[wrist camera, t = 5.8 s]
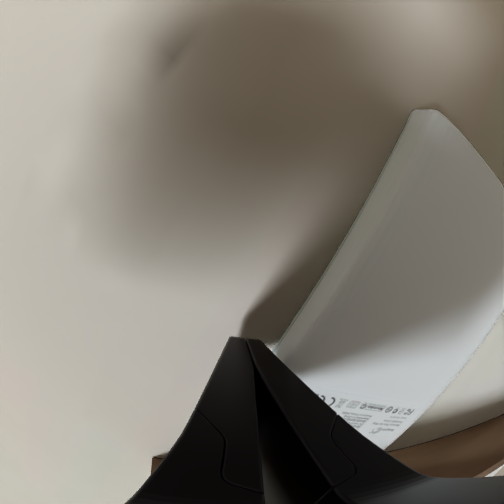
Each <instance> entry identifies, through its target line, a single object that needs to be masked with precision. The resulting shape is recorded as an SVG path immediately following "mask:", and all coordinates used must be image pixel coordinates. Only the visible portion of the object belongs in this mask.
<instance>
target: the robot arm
mask: <svg viewBox="0 0 504 504" xmlns="http://www.w3.org/2000/svg"><path fill="white" fill-rule="evenodd" d="M125 504H504V476H493V477H476V478H436V477H430V476H427V475H423V474H421V473H419V472H417V471H415V470H413V469H411V468H410V467H408V466H407V465H405V464H404V463H402V462H401V461H399V460H398V459H396V458H395V457H393V456H392V455H390V454H389V453H387V452H386V451H384V450H383V449H381V448H380V447H378V446H377V445H376V444H374V443H373V442H372V441H370V440H369V439H367V438H366V437H365V436H363V435H362V434H361V433H360V432H358V431H357V430H356V429H355V428H354V427H352V426H351V425H350V424H349V423H348V422H347V421H345V420H344V419H343V418H342V417H341V416H340V415H337V413H336V412H335V411H334V410H333V409H332V408H331V407H330V406H329V405H328V404H326V403H325V402H324V401H323V400H322V399H321V398H320V397H319V396H318V395H317V394H316V393H315V392H313V391H312V390H311V389H310V388H309V387H308V386H307V385H306V384H305V383H304V382H303V381H302V380H301V379H300V378H299V377H298V376H297V375H295V374H294V373H293V372H292V371H291V370H290V369H289V368H288V367H287V366H286V365H285V364H284V363H283V362H282V361H281V360H280V359H279V358H278V357H277V356H276V355H275V354H274V353H273V352H272V351H271V350H270V349H269V348H268V347H267V346H266V345H265V344H264V343H263V342H262V341H260V340H258V339H249V338H247V339H244V338H240V337H233V336H231V337H229V339H228V341H227V343H226V346H225V348H224V350H223V352H222V354H221V356H220V358H219V360H218V362H217V364H216V366H215V368H214V370H213V372H212V375H211V377H210V379H209V381H208V383H207V385H206V387H205V389H204V391H203V393H202V395H201V397H200V399H199V401H198V403H197V405H196V407H195V410H194V411H193V413H192V415H191V417H190V419H189V421H188V423H187V425H186V426H185V428H184V430H183V432H182V434H181V435H180V437H179V438H178V440H177V441H176V443H175V444H174V445H173V447H172V448H171V450H170V451H169V453H168V454H167V455H166V456H165V458H164V459H163V460H162V461H161V463H160V464H159V465H158V467H157V468H156V469H155V470H154V472H153V473H152V474H151V475H150V477H149V478H148V479H147V480H146V482H145V483H144V484H143V485H142V486H141V488H140V489H139V490H138V491H137V492H136V493H135V494H134V495H133V496H132V497H131V498H130V499H129V500H128V501H127V502H126V503H125Z"/></svg>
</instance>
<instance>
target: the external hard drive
mask: <svg viewBox="0 0 504 504" xmlns="http://www.w3.org/2000/svg"><path fill="white" fill-rule="evenodd" d="M503 310H504V186H503V185H502V183H501V181H500V180H499V179H498V177H497V176H496V175H495V173H494V172H493V171H492V169H491V168H490V167H489V166H488V164H487V163H486V162H485V160H484V159H483V157H482V156H481V155H480V154H479V153H478V152H477V150H476V149H475V148H474V147H473V146H472V144H471V143H470V142H469V140H468V139H467V138H466V137H465V136H464V135H463V134H462V133H461V132H460V130H459V129H458V128H457V127H455V126H454V125H453V124H452V123H451V122H450V121H449V120H448V118H447V117H445V116H444V115H443V114H441V113H440V112H439V111H438V110H434V109H415V110H413V111H412V112H411V114H410V116H409V118H408V120H407V123H406V125H405V127H404V129H403V131H402V133H401V135H400V137H399V139H398V141H397V143H396V145H395V147H394V149H393V151H392V153H391V155H390V156H389V158H388V160H387V162H386V164H385V166H384V168H383V170H382V172H381V174H380V175H379V177H378V179H377V181H376V183H375V185H374V187H373V189H372V191H371V192H370V194H369V196H368V198H367V200H366V201H365V203H364V205H363V207H362V209H361V210H360V212H359V214H358V216H357V217H356V219H355V221H354V223H353V224H352V226H351V228H350V230H349V231H348V233H347V235H346V236H345V238H344V240H343V241H342V243H341V245H340V246H339V248H338V250H337V251H336V253H335V255H334V256H333V258H332V260H331V261H330V263H329V265H328V266H327V268H326V269H325V271H324V273H323V274H322V276H321V278H320V279H319V281H318V282H317V284H316V285H315V287H314V289H313V290H312V292H311V293H310V295H309V296H308V298H307V299H306V301H305V303H304V304H303V306H302V307H301V308H300V310H299V312H298V313H297V315H296V316H295V318H294V319H293V320H292V322H291V324H290V325H289V327H288V328H287V330H286V331H285V333H284V334H283V336H282V337H281V339H280V340H279V342H278V343H277V345H276V346H275V347H274V349H273V350H272V352H273V353H274V354H275V355H276V356H277V357H278V358H279V359H280V360H281V361H282V362H283V363H284V364H285V365H286V366H287V367H288V368H289V369H290V370H291V371H292V372H293V373H294V374H295V375H297V376H298V377H299V378H300V379H301V380H302V381H303V382H304V383H305V384H306V385H307V386H308V387H309V388H310V389H311V390H312V391H313V392H315V393H316V394H317V395H318V396H319V397H320V398H321V399H322V400H323V401H324V402H325V403H326V404H328V405H329V406H330V407H331V408H332V409H333V410H334V411H335V412H336V413H337V415H340V416H341V417H342V418H343V419H344V420H345V421H347V422H348V423H349V424H350V425H351V426H352V427H354V428H355V429H356V430H357V431H358V432H360V433H361V434H362V435H363V436H365V437H366V438H367V439H369V440H370V441H372V442H373V443H374V444H376V445H377V446H378V447H380V448H381V449H383V450H385V449H386V448H387V447H388V446H389V445H390V444H391V443H393V442H394V441H395V440H396V439H397V438H398V437H399V436H400V435H401V434H403V433H404V432H405V431H406V430H407V429H408V428H409V427H410V426H411V425H412V424H413V423H414V422H415V421H416V420H417V419H418V418H419V417H420V416H421V415H422V414H423V413H424V412H425V411H426V410H427V409H428V408H429V407H430V406H431V405H432V404H433V403H434V402H435V400H436V399H437V398H438V397H439V396H440V395H441V394H442V393H443V392H444V390H445V389H446V388H447V387H448V386H449V385H450V383H451V382H452V381H453V380H454V379H455V377H456V376H457V375H458V374H459V373H460V371H461V370H462V369H463V368H464V366H465V365H466V364H467V362H468V361H469V360H470V359H471V357H472V356H473V355H474V353H475V352H476V350H477V349H478V348H479V346H480V345H481V344H482V342H483V341H484V339H485V338H486V337H487V335H488V334H489V332H490V331H491V329H492V328H493V326H494V325H495V323H496V322H497V320H498V318H499V317H500V315H501V314H502V312H503Z"/></svg>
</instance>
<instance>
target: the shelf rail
mask: <svg viewBox="0 0 504 504" xmlns="http://www.w3.org/2000/svg"><path fill="white" fill-rule="evenodd" d="M387 453H389V454H390V455H392V456H393V457H395V458H396V459H398V460H399V461H401V462H402V463H404V464H405V465H407V466H408V467H410V468H411V469H413V470H415V471H417V472H419V473H421V474H423V475H427V476H430V477H436V478H476V477H485V476H486V475H488V474H490V473H491V472H493V471H494V470H496V469H497V468H499V467H500V466H502V465H503V464H504V414H503V415H501V416H499V417H497V418H494V419H492V420H490V421H487V422H485V423H482V424H480V425H477V426H475V427H472V428H470V429H467V430H464V431H461V432H459V433H456V434H453V435H450V436H447V437H444V438H440V439H437V440H434V441H431V442H427V443H424V444H420V445H416V446H412V447H409V448H405V449H400V450H396V451H392V452H387ZM162 460H163V459H157V458H152V467H151V474H152V473H153V472H154V470H155V469H156V468H157V467H158V465H159V464H160V463H161V461H162Z"/></svg>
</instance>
